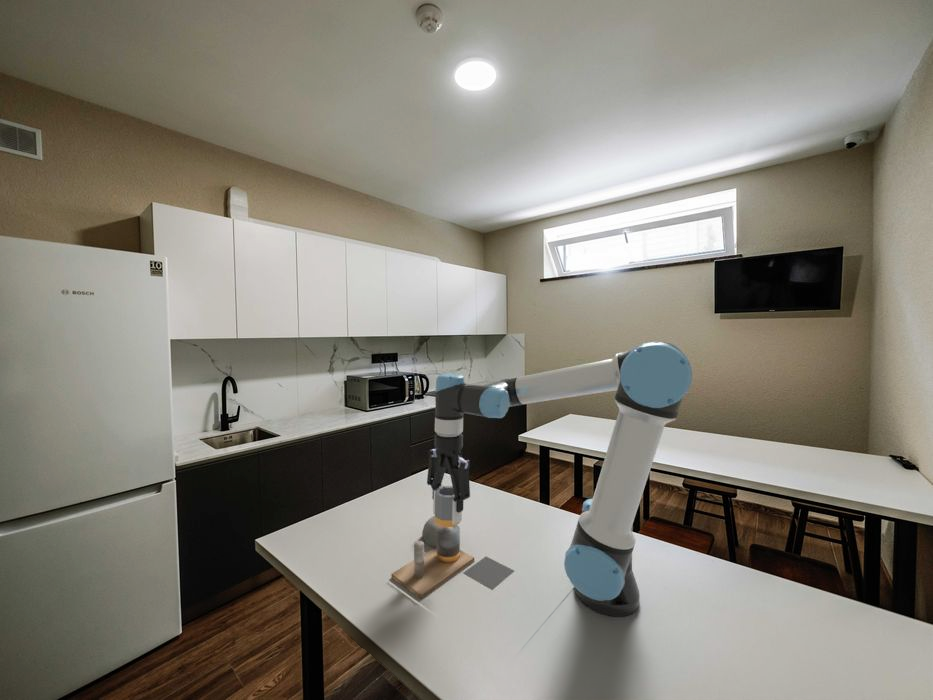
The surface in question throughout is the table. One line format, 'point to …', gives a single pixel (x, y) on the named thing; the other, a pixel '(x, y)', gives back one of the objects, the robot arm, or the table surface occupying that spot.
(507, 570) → the pad
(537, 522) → the table surface
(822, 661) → the table surface
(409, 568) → the pin board
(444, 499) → the sleeve
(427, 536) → the stone
